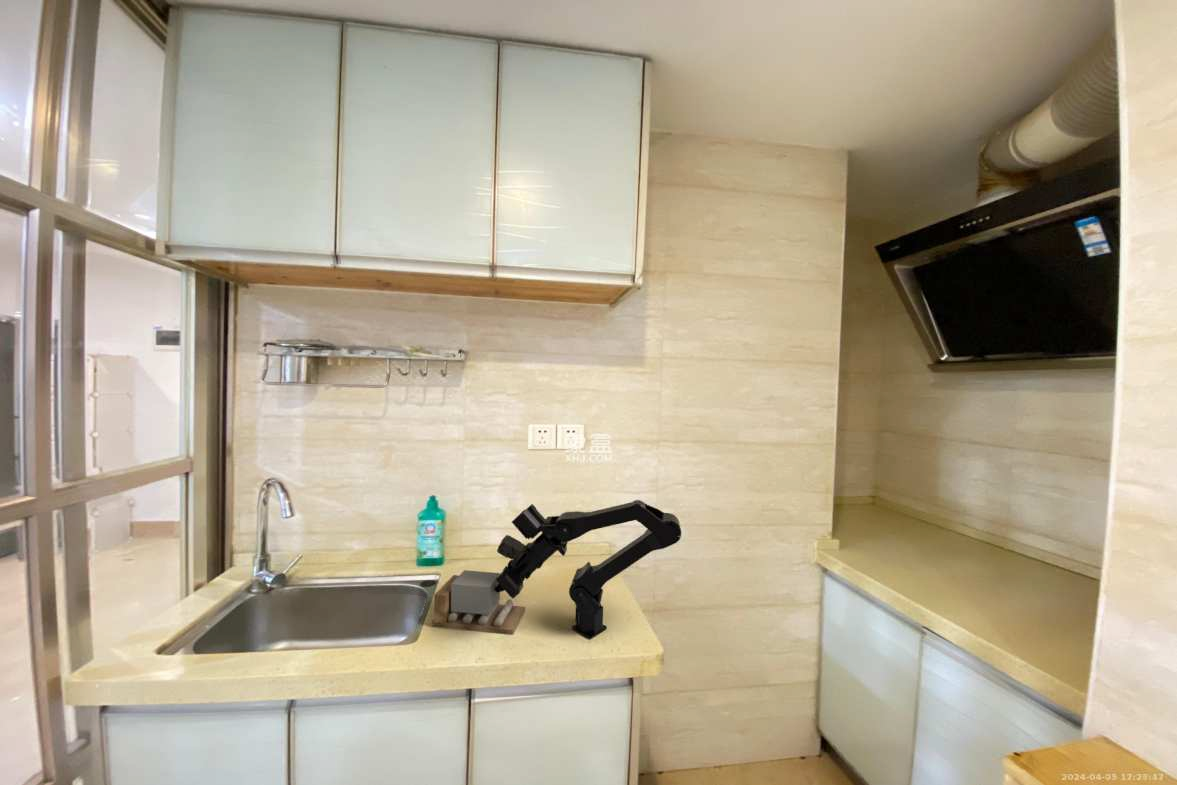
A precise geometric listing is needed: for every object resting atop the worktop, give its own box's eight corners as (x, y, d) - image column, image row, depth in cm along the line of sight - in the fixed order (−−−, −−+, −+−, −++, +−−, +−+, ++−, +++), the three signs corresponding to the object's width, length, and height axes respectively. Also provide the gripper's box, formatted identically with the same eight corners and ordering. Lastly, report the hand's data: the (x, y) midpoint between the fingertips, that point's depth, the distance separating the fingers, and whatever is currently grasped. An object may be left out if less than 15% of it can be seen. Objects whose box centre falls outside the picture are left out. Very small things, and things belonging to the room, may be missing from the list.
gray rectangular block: (499, 599, 117) (500, 573, 117) (489, 614, 109) (489, 587, 109) (464, 595, 119) (464, 570, 118) (450, 611, 111) (451, 583, 110)
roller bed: (525, 611, 118) (525, 581, 118) (512, 634, 107) (513, 601, 107) (450, 604, 121) (451, 574, 120) (431, 626, 110) (431, 594, 110)
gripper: (527, 516, 121) (488, 552, 123) (505, 541, 103) (459, 583, 104) (554, 546, 120) (514, 582, 122) (538, 577, 102) (491, 619, 104)
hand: (496, 590), depth 113 cm, fingers closed, pressing on gray rectangular block
